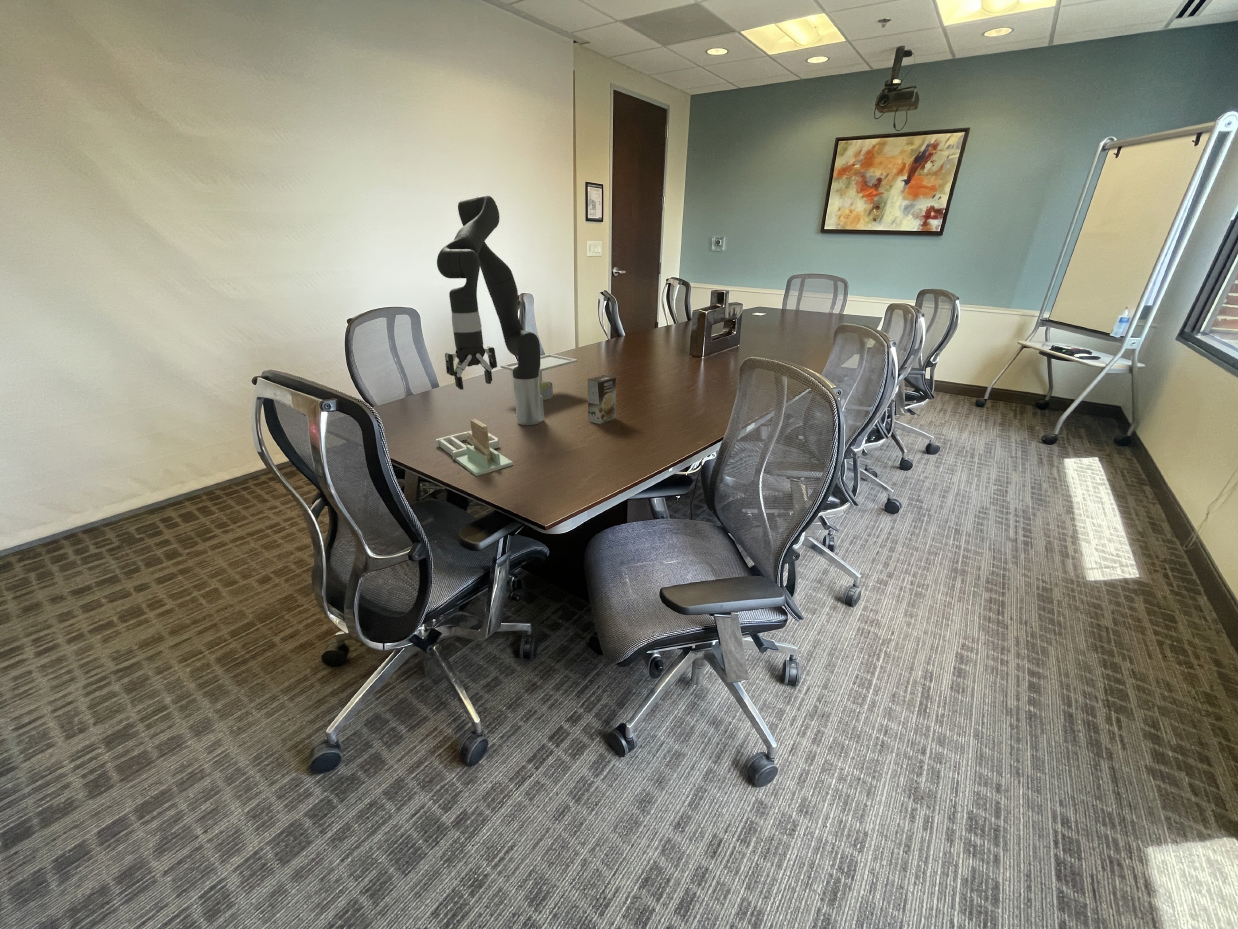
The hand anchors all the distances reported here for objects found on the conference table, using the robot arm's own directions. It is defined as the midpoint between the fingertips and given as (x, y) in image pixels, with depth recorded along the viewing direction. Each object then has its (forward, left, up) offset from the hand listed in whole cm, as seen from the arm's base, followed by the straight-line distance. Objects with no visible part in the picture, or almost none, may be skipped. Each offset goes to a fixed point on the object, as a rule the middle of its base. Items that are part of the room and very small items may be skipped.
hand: (474, 386), depth 143 cm
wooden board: (0, 0, -23) cm, 23 cm away
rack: (-2, -15, -24) cm, 28 cm away
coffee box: (-52, -7, -24) cm, 58 cm away
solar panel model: (-50, -46, -24) cm, 72 cm away
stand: (0, 0, -24) cm, 24 cm away
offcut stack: (-6, -15, -24) cm, 29 cm away
